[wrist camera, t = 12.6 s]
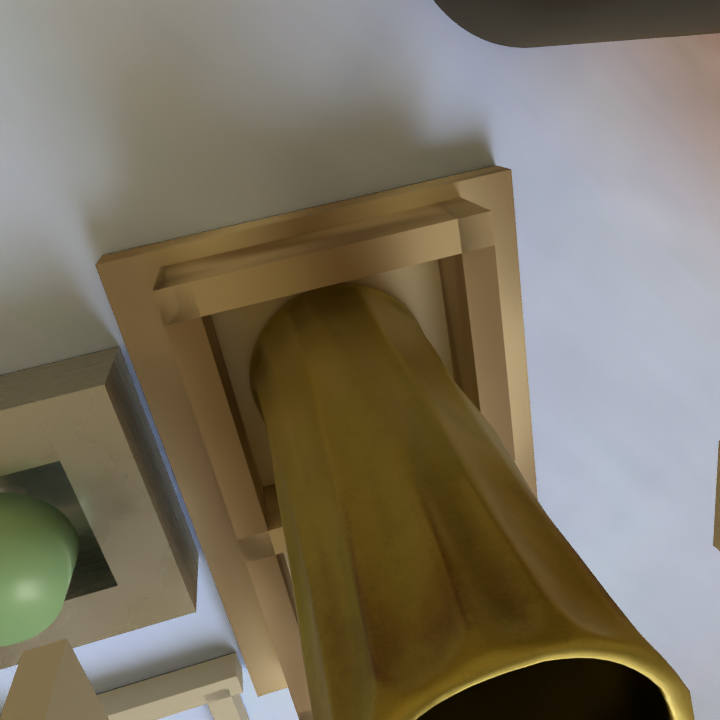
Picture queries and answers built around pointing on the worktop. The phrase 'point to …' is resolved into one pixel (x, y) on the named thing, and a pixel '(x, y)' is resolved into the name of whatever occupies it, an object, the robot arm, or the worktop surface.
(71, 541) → the button
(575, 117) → the worktop surface
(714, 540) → the robot arm
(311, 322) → the vase
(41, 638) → the square block with hole
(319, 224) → the wooden divided tray
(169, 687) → the rim
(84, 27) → the worktop surface
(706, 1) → the water bottle
